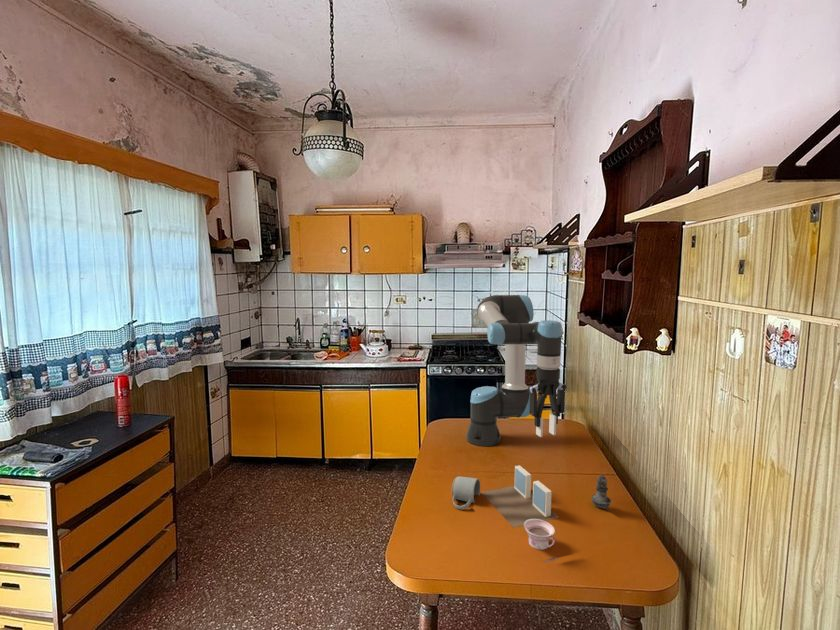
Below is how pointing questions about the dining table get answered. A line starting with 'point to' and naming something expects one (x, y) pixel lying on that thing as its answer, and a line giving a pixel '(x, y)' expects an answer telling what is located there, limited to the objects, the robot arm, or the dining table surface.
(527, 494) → the tile
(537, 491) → the tile
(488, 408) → the robot arm
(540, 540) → the teacup
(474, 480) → the ceramic mug
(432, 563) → the dining table surface
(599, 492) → the grey stone finial
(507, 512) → the walnut board
